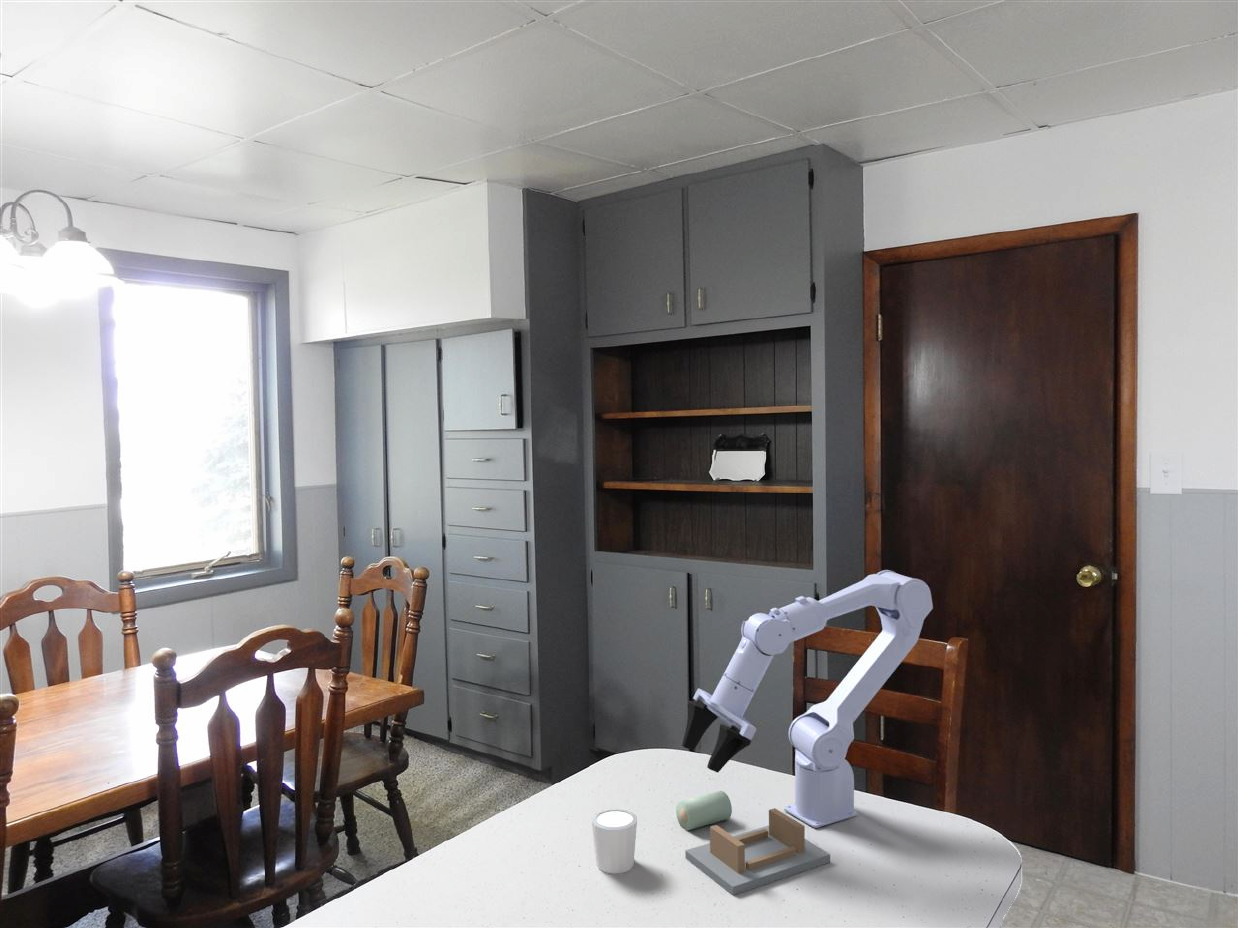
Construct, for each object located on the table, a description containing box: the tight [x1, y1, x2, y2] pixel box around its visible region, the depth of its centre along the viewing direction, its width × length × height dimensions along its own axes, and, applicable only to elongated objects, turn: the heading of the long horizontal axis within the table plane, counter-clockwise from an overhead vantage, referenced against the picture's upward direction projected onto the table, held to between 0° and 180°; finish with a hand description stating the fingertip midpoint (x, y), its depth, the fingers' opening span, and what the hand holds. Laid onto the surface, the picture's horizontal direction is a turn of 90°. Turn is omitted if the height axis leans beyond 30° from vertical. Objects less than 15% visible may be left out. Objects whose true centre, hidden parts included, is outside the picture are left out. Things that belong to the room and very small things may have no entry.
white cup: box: [591, 808, 638, 874], centre depth 133 cm, size 7×7×7 cm
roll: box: [675, 790, 733, 831], centre depth 146 cm, size 8×4×4 cm, turn 119°
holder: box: [684, 807, 831, 896], centre depth 133 cm, size 18×12×5 cm, turn 119°
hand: (699, 758), depth 143 cm, fingers open, 7 cm apart
